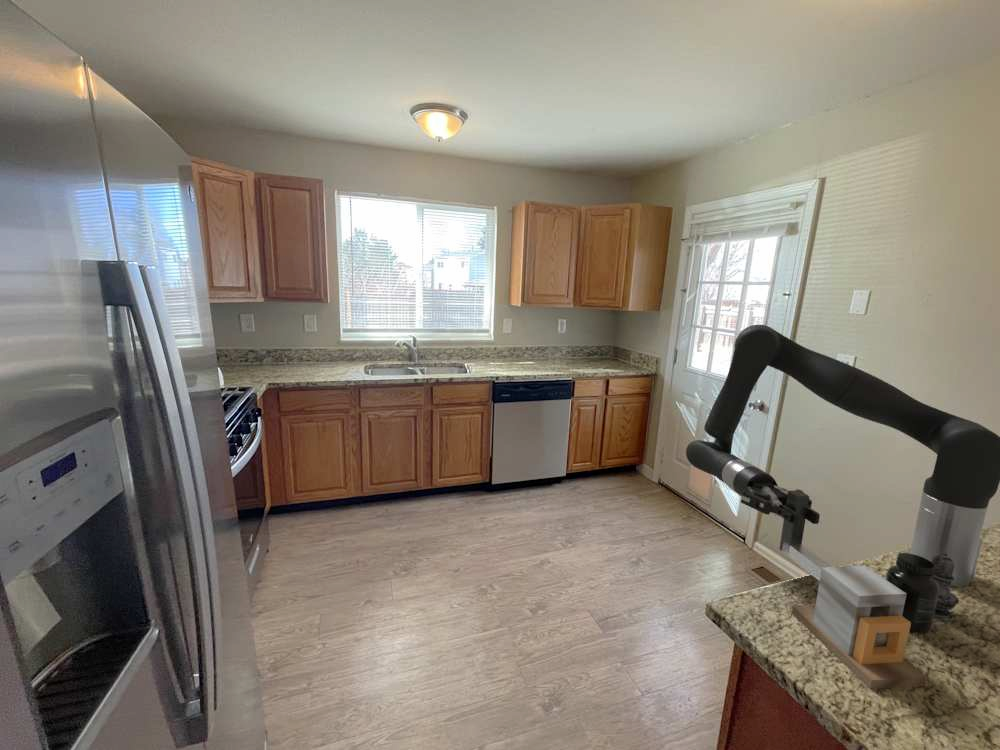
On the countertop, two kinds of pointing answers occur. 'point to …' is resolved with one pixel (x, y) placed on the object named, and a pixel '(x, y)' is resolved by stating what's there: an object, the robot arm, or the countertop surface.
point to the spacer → (895, 642)
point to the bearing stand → (857, 621)
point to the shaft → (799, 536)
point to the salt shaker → (944, 586)
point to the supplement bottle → (916, 589)
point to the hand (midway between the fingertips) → (806, 519)
